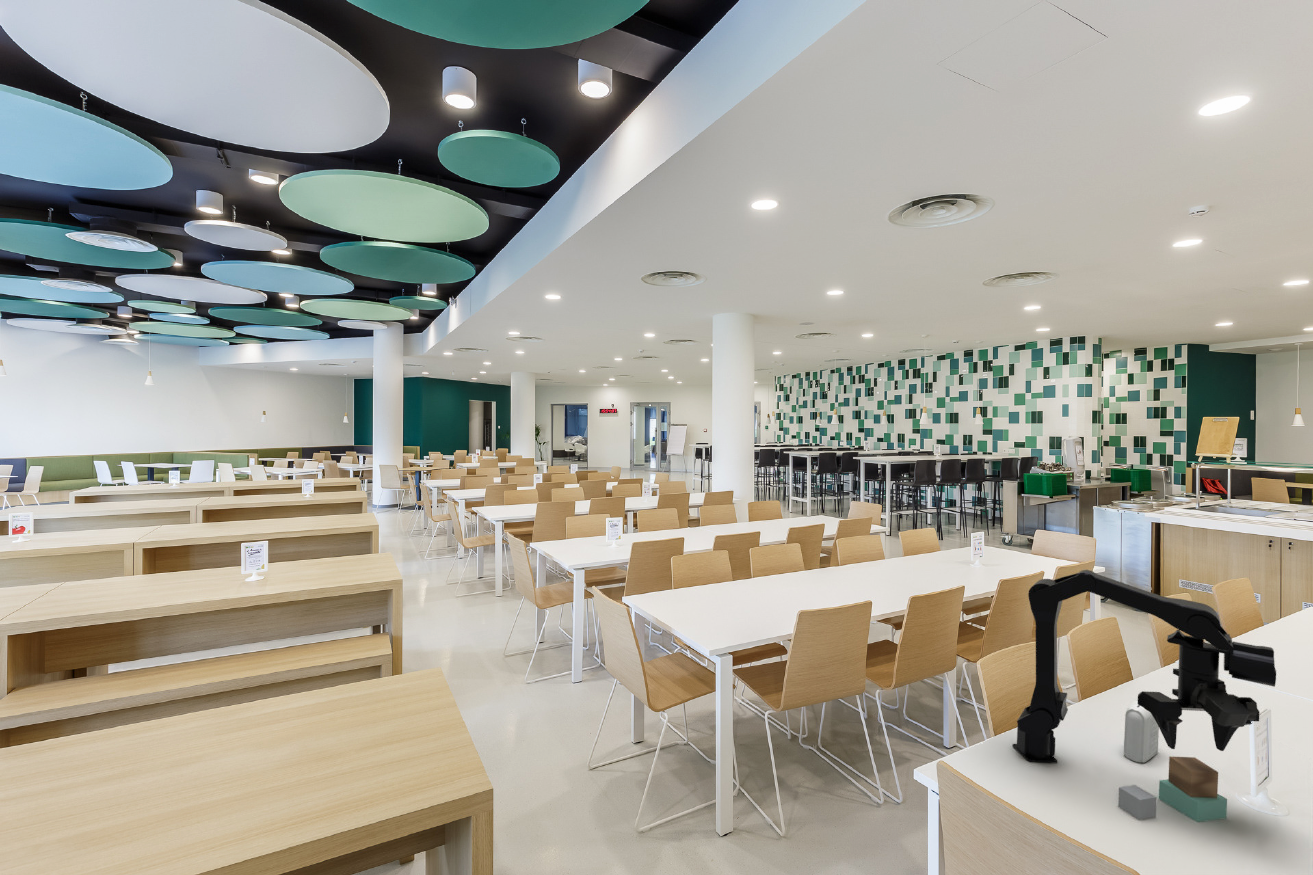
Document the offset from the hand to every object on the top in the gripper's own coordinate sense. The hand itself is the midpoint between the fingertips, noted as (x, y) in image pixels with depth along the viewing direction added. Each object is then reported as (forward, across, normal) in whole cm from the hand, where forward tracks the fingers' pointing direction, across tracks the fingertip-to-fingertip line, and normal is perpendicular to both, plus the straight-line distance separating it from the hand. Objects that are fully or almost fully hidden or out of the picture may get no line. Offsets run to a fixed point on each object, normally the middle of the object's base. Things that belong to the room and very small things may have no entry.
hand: (1195, 748), depth 114 cm
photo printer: (+12, +5, +19) cm, 23 cm away
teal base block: (+12, 0, 0) cm, 12 cm away
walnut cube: (+8, 0, 0) cm, 8 cm away
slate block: (+12, -12, -2) cm, 17 cm away
